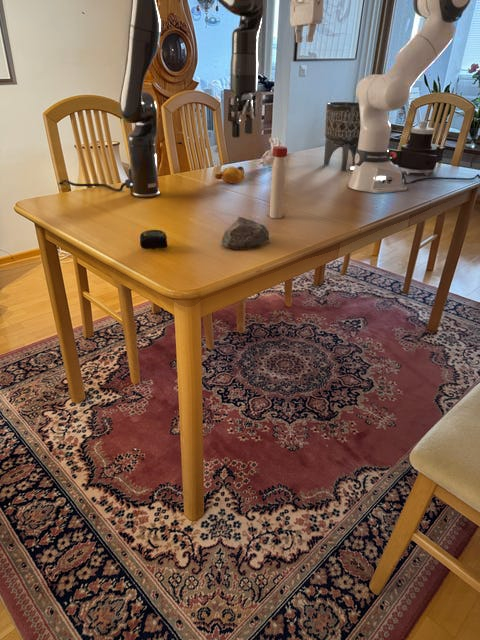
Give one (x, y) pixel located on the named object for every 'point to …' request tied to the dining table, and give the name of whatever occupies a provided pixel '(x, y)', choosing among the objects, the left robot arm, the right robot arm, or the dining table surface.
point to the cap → (279, 151)
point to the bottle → (277, 187)
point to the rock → (245, 234)
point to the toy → (231, 174)
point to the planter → (342, 130)
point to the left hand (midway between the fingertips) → (242, 135)
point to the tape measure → (153, 239)
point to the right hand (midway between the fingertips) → (304, 42)
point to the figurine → (269, 154)
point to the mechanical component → (418, 152)
